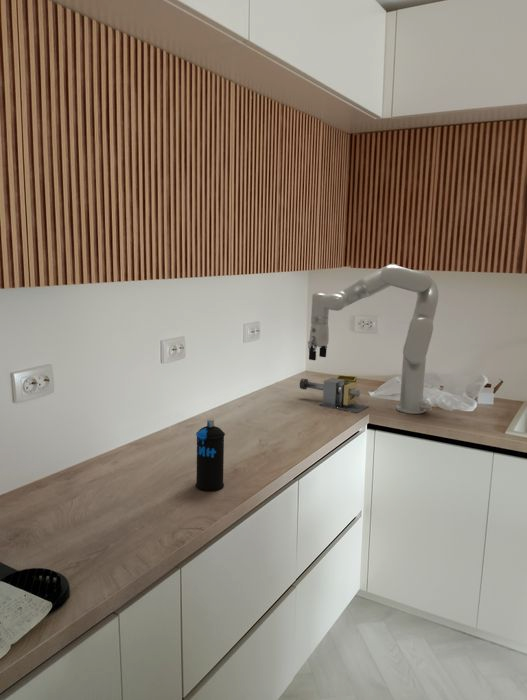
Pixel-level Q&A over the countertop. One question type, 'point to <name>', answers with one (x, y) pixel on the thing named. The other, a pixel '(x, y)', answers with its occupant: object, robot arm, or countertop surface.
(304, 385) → the shaft
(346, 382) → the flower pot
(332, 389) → the block
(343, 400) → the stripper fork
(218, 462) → the aerosol can
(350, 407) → the mat
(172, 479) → the countertop surface
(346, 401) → the gold bearing plate
